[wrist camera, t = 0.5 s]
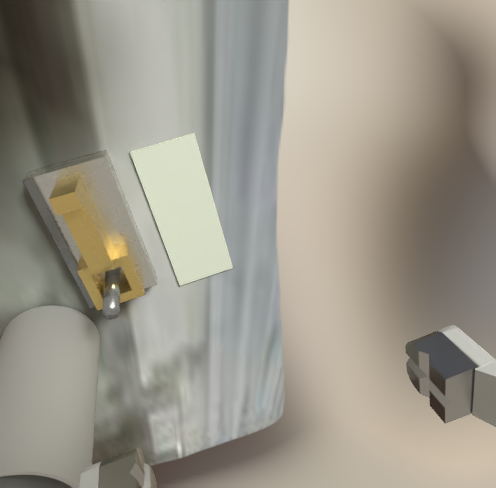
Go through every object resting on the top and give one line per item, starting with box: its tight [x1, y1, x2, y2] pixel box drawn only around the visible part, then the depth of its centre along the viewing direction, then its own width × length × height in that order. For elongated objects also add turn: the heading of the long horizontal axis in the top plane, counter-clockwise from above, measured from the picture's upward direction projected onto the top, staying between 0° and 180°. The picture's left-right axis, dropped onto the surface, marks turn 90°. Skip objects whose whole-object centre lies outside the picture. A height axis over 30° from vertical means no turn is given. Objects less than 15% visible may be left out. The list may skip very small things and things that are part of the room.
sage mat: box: [130, 133, 233, 286], centre depth 55 cm, size 20×8×1 cm, turn 13°
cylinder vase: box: [0, 305, 100, 488], centre depth 47 cm, size 12×12×25 cm
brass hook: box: [49, 173, 145, 310], centre depth 47 cm, size 16×6×6 cm, turn 13°
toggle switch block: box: [23, 150, 157, 319], centre depth 48 cm, size 18×9×12 cm, turn 13°
